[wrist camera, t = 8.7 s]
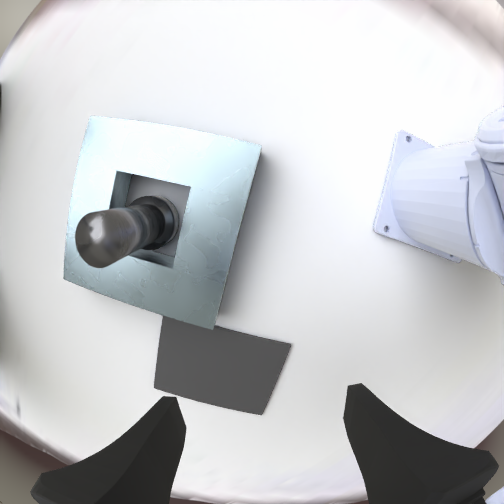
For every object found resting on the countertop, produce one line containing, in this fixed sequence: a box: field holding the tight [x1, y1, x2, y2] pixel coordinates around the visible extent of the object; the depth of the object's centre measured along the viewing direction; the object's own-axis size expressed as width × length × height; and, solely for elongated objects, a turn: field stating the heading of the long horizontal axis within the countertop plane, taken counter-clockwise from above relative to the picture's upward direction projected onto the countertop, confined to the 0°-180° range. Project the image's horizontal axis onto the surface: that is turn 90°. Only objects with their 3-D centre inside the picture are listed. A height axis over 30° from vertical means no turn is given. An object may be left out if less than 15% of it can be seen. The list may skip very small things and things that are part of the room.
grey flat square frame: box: [64, 116, 262, 330], centre depth 18 cm, size 12×12×2 cm
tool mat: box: [154, 316, 291, 415], centre depth 21 cm, size 10×8×1 cm
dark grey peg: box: [75, 196, 179, 268], centre depth 15 cm, size 4×4×8 cm
